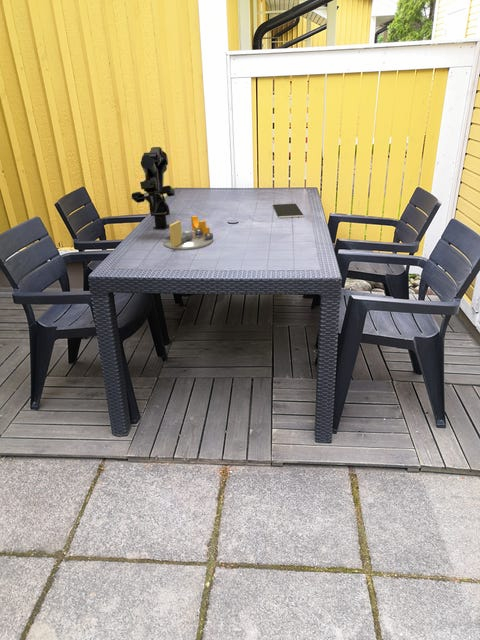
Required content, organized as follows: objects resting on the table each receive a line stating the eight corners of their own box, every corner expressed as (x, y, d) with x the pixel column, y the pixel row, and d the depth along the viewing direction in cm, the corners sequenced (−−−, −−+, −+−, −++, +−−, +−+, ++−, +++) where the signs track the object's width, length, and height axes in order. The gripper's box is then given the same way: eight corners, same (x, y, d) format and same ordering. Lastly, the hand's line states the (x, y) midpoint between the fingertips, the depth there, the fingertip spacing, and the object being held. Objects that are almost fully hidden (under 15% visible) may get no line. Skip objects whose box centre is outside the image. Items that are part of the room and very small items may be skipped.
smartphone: (278, 220, 245) (278, 216, 245) (272, 207, 269) (272, 204, 269) (304, 218, 246) (304, 215, 245) (295, 206, 270) (295, 203, 269)
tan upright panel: (186, 236, 217) (184, 216, 212) (194, 237, 215) (192, 216, 211) (168, 246, 204) (165, 225, 200) (177, 247, 203) (174, 225, 198)
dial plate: (176, 233, 227) (175, 227, 226) (219, 236, 221) (219, 229, 220) (154, 248, 209) (154, 241, 207) (201, 251, 202) (201, 244, 201)
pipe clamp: (209, 234, 225) (209, 220, 222) (201, 235, 223) (200, 222, 220) (200, 228, 235) (199, 215, 232) (192, 229, 233) (191, 216, 230)
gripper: (124, 176, 209) (126, 210, 207) (164, 167, 205) (166, 202, 203) (136, 186, 220) (138, 218, 218) (173, 178, 215) (176, 210, 213)
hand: (154, 212), depth 212 cm, fingers closed
